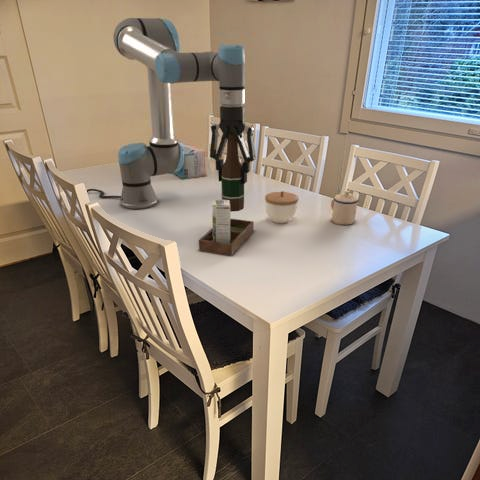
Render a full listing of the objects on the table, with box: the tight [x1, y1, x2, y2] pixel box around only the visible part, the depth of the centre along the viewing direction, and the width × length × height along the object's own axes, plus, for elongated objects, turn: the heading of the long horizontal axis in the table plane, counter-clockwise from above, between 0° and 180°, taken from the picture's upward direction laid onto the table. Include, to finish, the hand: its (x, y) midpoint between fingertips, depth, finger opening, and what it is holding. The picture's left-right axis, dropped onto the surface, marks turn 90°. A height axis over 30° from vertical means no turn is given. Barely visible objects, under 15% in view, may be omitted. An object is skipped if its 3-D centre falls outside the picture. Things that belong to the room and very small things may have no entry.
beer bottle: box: [221, 134, 245, 213], centre depth 138 cm, size 8×8×24 cm
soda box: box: [173, 136, 207, 180], centre depth 224 cm, size 41×14×13 cm, turn 30°
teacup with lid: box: [330, 189, 359, 226], centre depth 160 cm, size 12×9×12 cm
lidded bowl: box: [264, 190, 299, 224], centre depth 160 cm, size 13×13×11 cm
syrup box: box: [211, 199, 231, 244], centre depth 138 cm, size 6×6×14 cm
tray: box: [198, 217, 255, 257], centre depth 145 cm, size 12×22×4 cm, turn 160°
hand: (232, 181), depth 140 cm, fingers closed on beer bottle, 8 cm apart
